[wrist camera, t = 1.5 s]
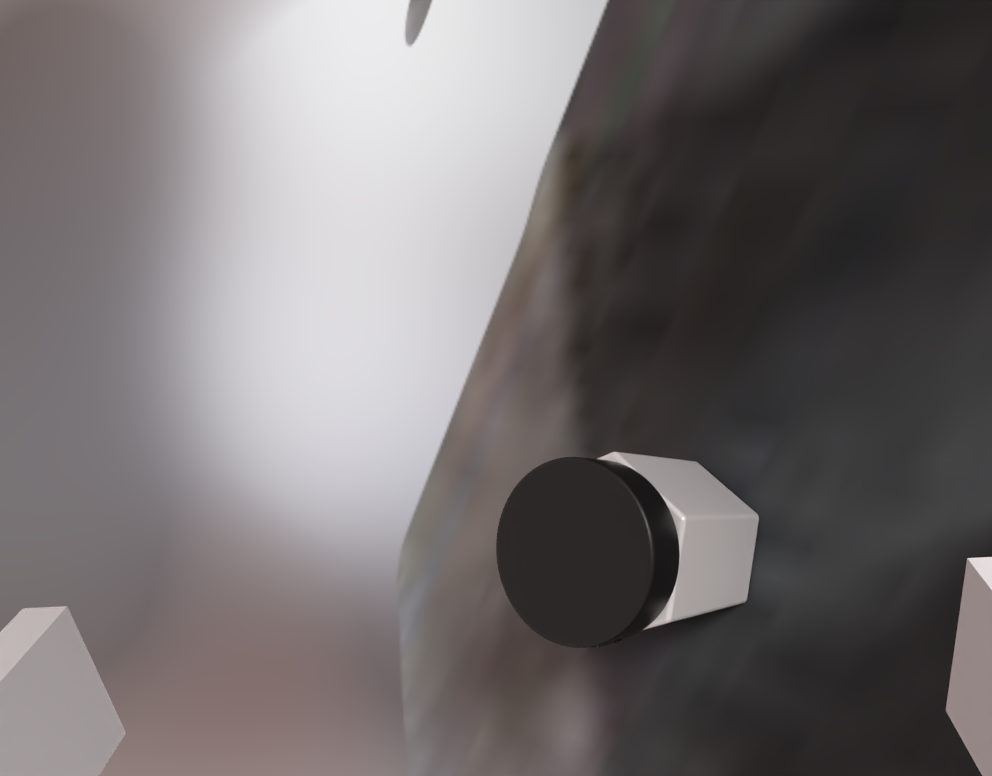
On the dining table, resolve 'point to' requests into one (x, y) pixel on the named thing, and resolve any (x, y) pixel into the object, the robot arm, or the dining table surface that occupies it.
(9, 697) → the robot arm
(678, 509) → the jar
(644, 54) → the dining table surface
